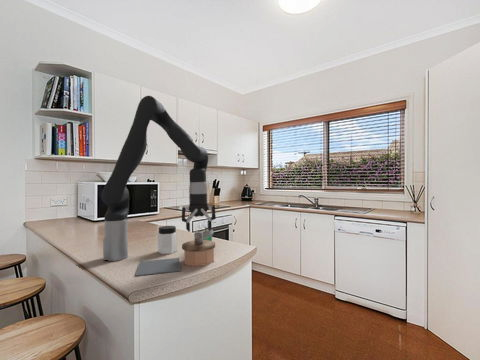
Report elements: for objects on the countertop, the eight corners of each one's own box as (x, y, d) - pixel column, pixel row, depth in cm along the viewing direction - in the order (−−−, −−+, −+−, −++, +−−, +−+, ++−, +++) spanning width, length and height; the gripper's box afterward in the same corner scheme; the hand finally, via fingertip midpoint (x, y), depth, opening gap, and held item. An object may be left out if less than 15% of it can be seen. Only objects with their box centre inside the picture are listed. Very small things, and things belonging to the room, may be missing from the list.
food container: (209, 253, 113) (208, 232, 113) (196, 253, 114) (196, 232, 114) (216, 246, 125) (216, 227, 125) (205, 246, 126) (205, 227, 126)
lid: (182, 252, 94) (182, 237, 94) (181, 244, 107) (181, 230, 108) (218, 249, 98) (217, 234, 98) (212, 241, 111) (212, 228, 112)
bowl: (185, 267, 95) (185, 251, 95) (183, 258, 107) (183, 244, 107) (215, 263, 99) (215, 249, 99) (210, 255, 110) (210, 242, 110)
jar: (156, 254, 112) (156, 229, 112) (158, 250, 120) (158, 226, 120) (176, 253, 114) (176, 228, 114) (177, 248, 122) (176, 225, 122)
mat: (135, 276, 86) (135, 275, 86) (140, 262, 102) (140, 261, 102) (180, 271, 91) (180, 270, 91) (179, 258, 106) (179, 257, 106)
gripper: (181, 193, 98) (182, 233, 97) (216, 192, 102) (217, 230, 102) (180, 193, 105) (181, 230, 105) (213, 191, 109) (213, 227, 109)
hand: (199, 230), depth 103 cm, fingers open, 8 cm apart
